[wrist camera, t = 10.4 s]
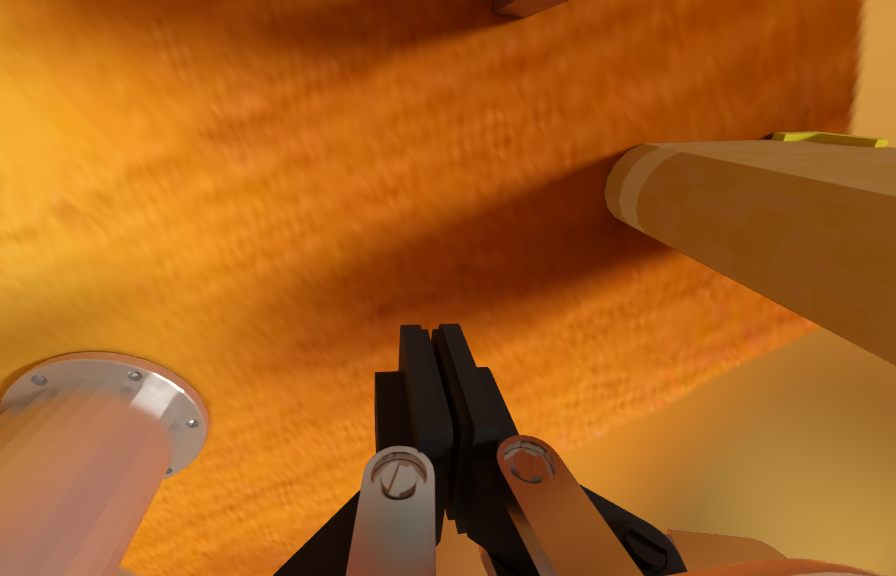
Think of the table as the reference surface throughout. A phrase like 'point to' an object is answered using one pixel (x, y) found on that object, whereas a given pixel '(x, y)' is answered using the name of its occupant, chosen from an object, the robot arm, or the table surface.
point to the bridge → (523, 7)
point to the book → (778, 221)
